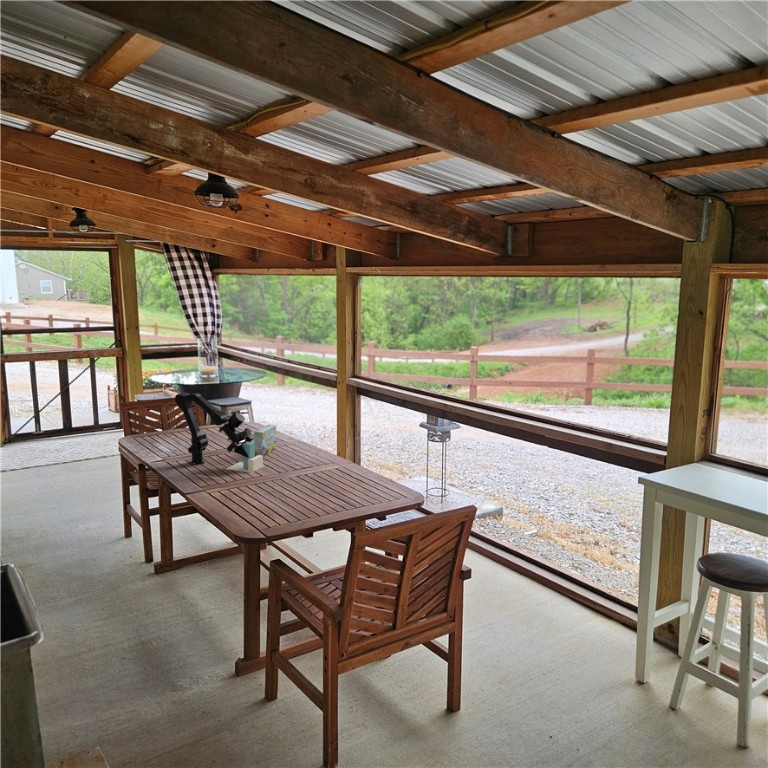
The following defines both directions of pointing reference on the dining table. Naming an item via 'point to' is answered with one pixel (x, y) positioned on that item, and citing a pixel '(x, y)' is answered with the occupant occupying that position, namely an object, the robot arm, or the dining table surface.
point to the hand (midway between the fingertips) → (250, 455)
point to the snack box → (265, 440)
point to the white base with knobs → (249, 464)
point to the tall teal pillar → (248, 452)
